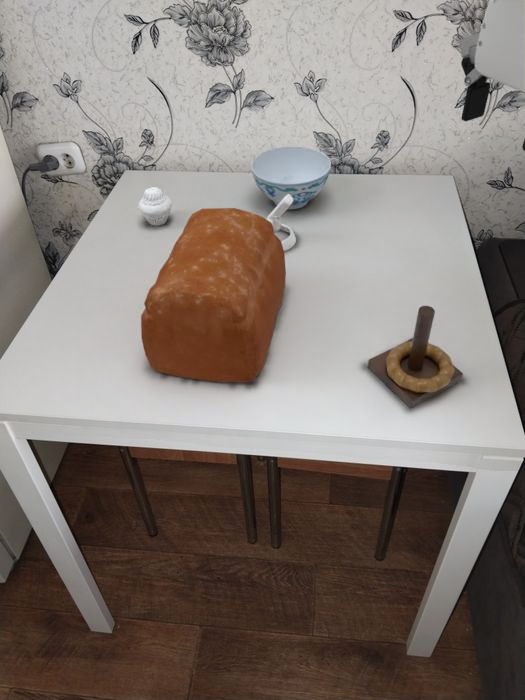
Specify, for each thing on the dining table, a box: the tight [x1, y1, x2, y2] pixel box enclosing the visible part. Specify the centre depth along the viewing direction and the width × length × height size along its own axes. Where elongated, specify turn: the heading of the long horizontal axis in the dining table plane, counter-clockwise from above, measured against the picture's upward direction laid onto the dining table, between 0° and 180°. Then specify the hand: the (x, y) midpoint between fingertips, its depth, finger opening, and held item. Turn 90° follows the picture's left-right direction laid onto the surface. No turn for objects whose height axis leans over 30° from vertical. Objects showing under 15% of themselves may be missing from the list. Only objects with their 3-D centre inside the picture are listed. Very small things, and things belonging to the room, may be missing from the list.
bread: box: [140, 207, 287, 383], centre depth 85 cm, size 17×24×15 cm
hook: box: [266, 194, 297, 252], centre depth 103 cm, size 8×12×7 cm
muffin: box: [137, 186, 173, 227], centre depth 110 cm, size 6×6×7 cm
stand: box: [367, 305, 464, 409], centre depth 78 cm, size 9×9×12 cm
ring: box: [386, 341, 454, 393], centre depth 79 cm, size 9×9×2 cm
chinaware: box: [250, 145, 332, 210], centre depth 113 cm, size 15×15×8 cm
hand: (501, 132), depth 70 cm, fingers open, 9 cm apart
